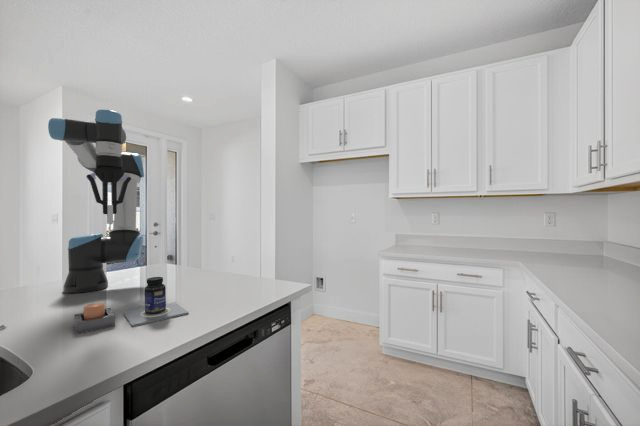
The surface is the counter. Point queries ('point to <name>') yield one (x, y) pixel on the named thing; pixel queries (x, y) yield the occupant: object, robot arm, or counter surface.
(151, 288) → the pill bottle
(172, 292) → the counter surface
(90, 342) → the counter surface
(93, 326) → the button housing
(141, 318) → the board
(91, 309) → the button
